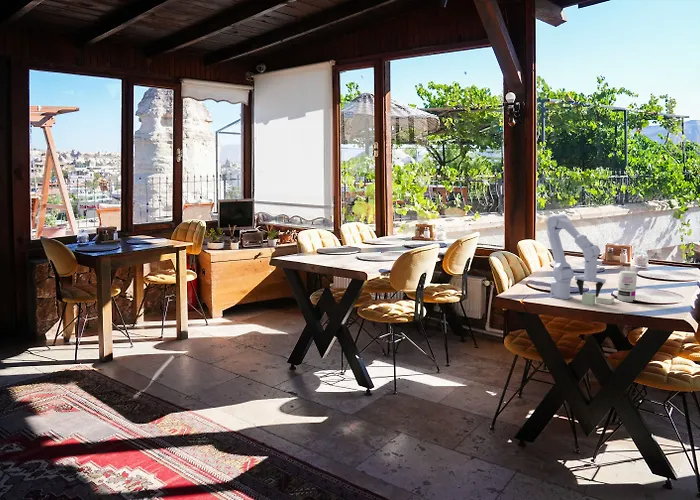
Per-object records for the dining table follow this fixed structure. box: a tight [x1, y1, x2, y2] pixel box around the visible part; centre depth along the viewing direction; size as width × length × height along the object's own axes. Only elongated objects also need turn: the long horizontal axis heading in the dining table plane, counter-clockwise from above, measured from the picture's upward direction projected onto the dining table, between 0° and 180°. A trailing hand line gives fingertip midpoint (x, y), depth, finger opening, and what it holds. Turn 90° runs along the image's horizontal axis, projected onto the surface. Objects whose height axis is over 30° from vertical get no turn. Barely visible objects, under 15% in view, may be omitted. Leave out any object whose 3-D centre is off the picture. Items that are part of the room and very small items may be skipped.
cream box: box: [595, 294, 615, 305], centre depth 295 cm, size 7×7×3 cm
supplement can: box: [616, 270, 638, 303], centre depth 297 cm, size 8×8×15 cm
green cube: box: [581, 292, 596, 306], centre depth 292 cm, size 5×5×5 cm
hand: (589, 295), depth 292 cm, fingers open, 7 cm apart
